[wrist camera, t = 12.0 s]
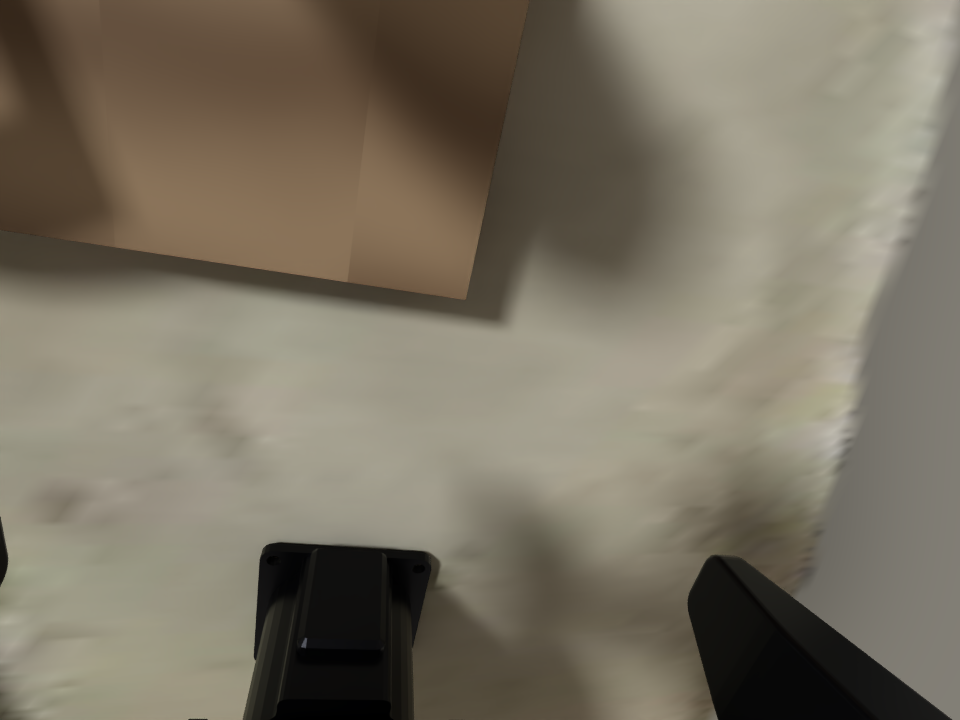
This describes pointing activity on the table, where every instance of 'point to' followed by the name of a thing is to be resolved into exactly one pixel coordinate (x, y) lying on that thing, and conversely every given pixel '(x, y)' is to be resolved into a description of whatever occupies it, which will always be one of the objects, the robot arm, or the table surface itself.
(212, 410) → the table surface
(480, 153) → the post foot
